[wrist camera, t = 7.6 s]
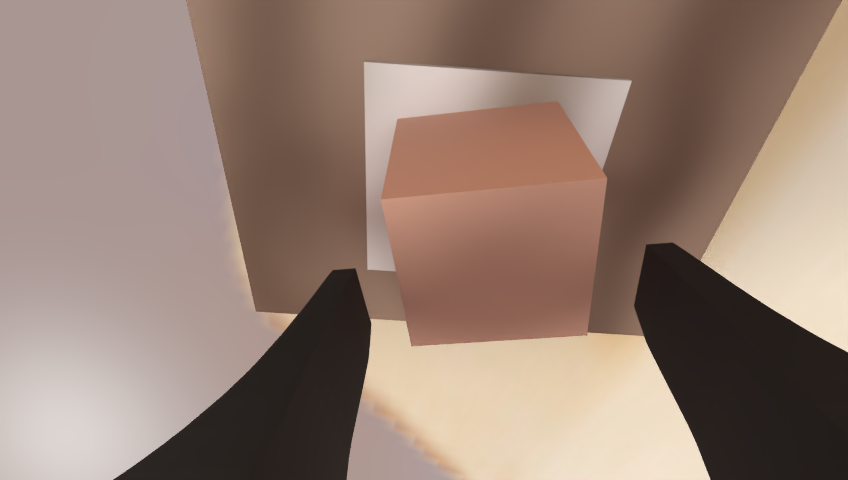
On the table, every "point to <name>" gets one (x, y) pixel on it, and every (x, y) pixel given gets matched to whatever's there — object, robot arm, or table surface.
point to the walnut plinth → (484, 89)
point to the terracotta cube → (493, 224)
